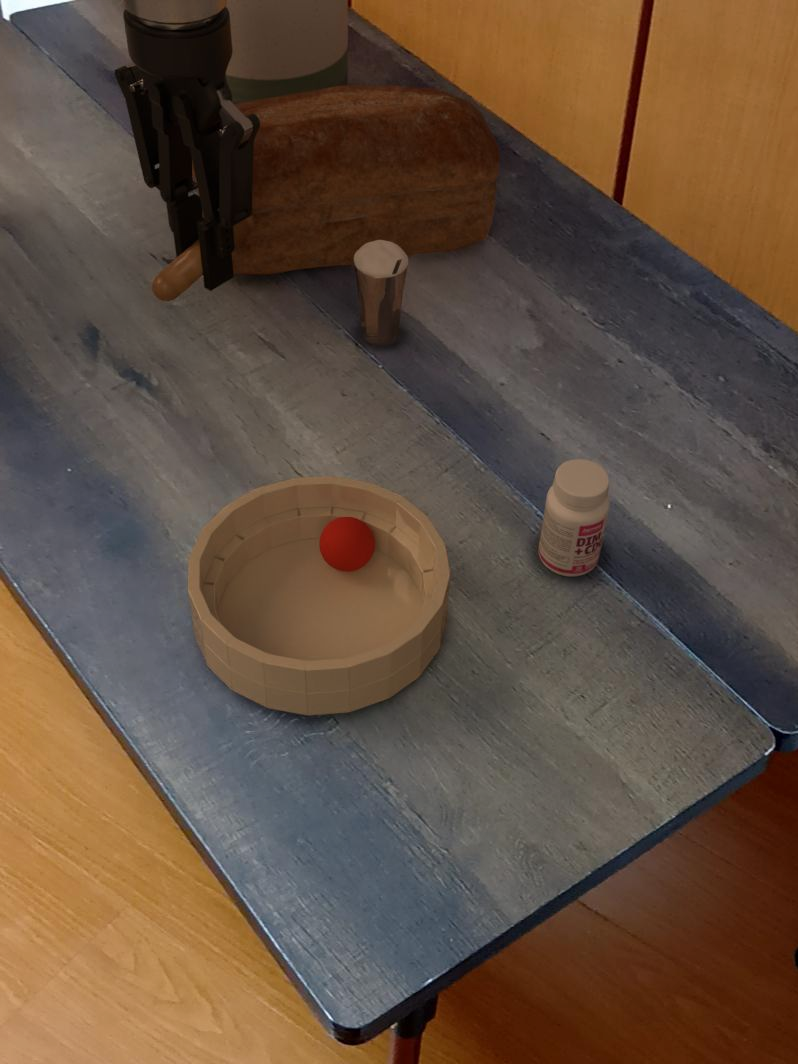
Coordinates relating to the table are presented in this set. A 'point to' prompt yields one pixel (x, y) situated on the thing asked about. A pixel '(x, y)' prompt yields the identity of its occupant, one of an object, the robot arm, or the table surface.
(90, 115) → the table surface
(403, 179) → the bread
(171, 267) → the sausage
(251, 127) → the robot arm
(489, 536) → the table surface
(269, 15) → the vase
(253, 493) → the bowl
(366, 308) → the milkshake
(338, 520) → the red ball
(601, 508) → the pill bottle
